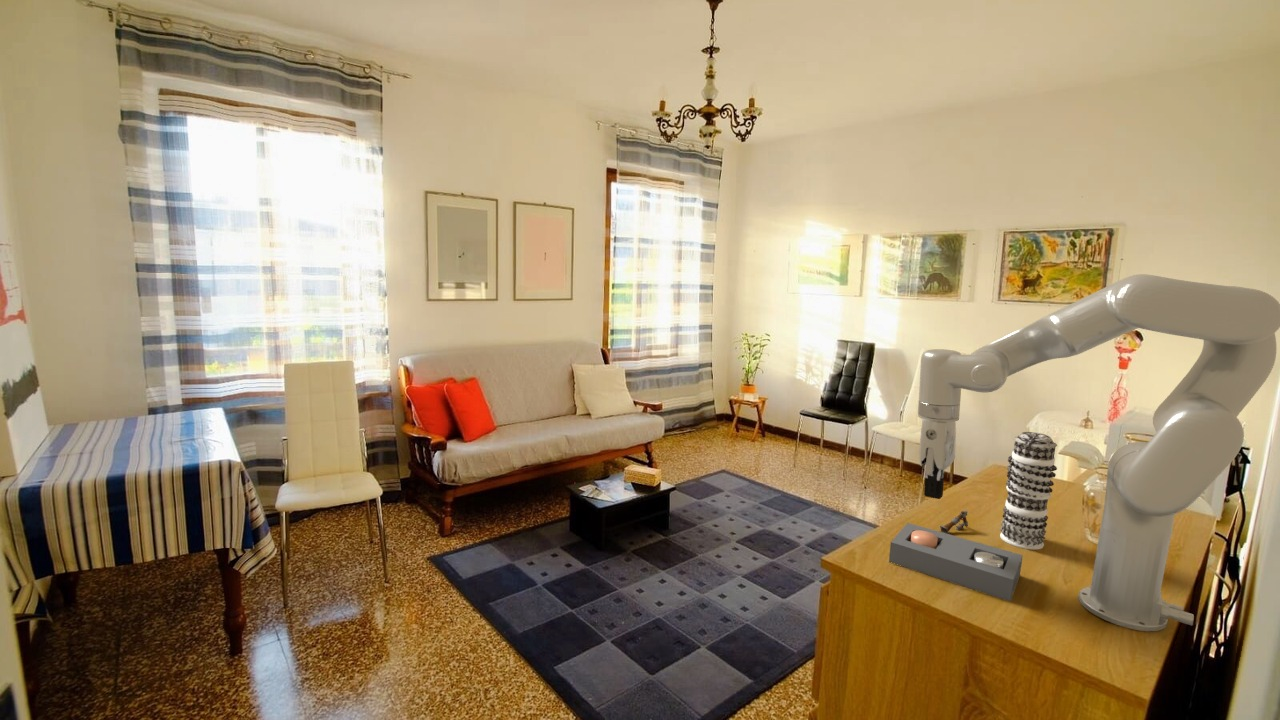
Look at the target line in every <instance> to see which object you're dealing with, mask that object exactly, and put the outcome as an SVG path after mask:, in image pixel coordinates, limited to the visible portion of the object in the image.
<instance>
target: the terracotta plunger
mask: <svg viewBox="0 0 1280 720" xmlns="http://www.w3.org/2000/svg"><path fill="white" fill-rule="evenodd" d="M937 540H938V538H937V536H936V535H934V534H932V533H930V532H927V531H921V530H917V531H913V532H912V534H911V542H914V543H917V544H920V545H924V546H927V547H930V548H934V549H936V548H937Z"/></svg>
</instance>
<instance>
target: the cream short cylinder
mask: <svg viewBox="0 0 1280 720" xmlns="http://www.w3.org/2000/svg"><path fill="white" fill-rule="evenodd" d="M974 561H977V562H980V563H984V564H987V565H990V566H994V567H997V568H1000V569H1003V559H1002V558H1000V557H999V556H997V555H994V554H991V553H987V552H977V553H975V555H974Z"/></svg>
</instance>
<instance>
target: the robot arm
mask: <svg viewBox="0 0 1280 720" xmlns="http://www.w3.org/2000/svg"><path fill="white" fill-rule="evenodd" d="M1136 329H1142V330H1146V331H1151V332H1155V333H1161V334H1167V335H1173V336H1180V337H1185V338H1192V339H1196V340H1197V339H1198V340H1201V341H1203V345H1202V349H1201V352H1200V355H1199V356H1198V358H1197V360H1196V361H1195V362H1194V364H1193V365H1192V366H1191V368H1190V369H1189V371H1188V372H1187V374H1185V376H1184V377H1183V378H1182V379H1181V381H1180V382H1179V383H1178V384H1177V385H1176V386H1175V388H1174V389H1173V390H1172V391H1171V392H1170V394H1169V395H1168V396H1167V397H1166V398H1165V399H1164V400H1163V401H1162V402H1161V403H1160V404H1159V405H1158V406H1157V408H1156V409H1155V410H1154V413H1153V417H1152V425H1153V428H1154V430H1155V434H1154V435H1153V436H1152V437H1151V439H1150V440H1149V441H1148V442H1147V441H1146V442H1145V441H1137V442H1136V441H1134V442H1130V443H1129V442H1128V443H1127V444H1124V445H1122V446H1121V447H1119V448H1118V449H1116V451H1115V452H1114V453H1113V454H1112V456H1110V459H1109V463H1108V466H1107V472H1106V484H1105V486H1106V487H1105V496H1104V497H1105V498H1104V504H1103V511H1102V518H1101V523H1100V529H1099V534H1098V540H1097V546H1096V547H1097V548H1096V551H1095V552H1096V553H1095V559H1094V566H1093V571H1092V577H1091V584H1090V586H1086V587H1083V588H1082V589H1080V591H1078V601H1079V602H1080V604H1081V605H1082V606H1083V608H1084V609H1086V610H1087V611H1089V612H1090V613H1091V614H1093V615H1095V616H1096V617H1098V618H1100V619H1103V620H1104V621H1106V622H1110V623H1111V624H1114V625H1116V626H1120V627H1122V628H1126V629H1131V630H1136V631H1142V632H1159V631H1162V630H1164V629H1165V628H1166V627H1167V625H1168V619H1171V620H1174V621H1177V622H1179V623H1182V624H1185V625H1189V626H1193V625H1194V618H1195V616H1194V614H1193V613H1190V612H1188V611H1184V606H1182V605H1178V604H1175V603H1170V602H1166V599H1163V597H1162V596H1163V593H1162V591H1161V590H1162V586H1163V581H1164V574H1165V570H1166V564H1167V558H1168V554H1169V553H1168V552H1169V547H1170V543H1171V540H1172V534H1173V529H1174V524H1175V523H1174V522H1175V515H1177V514H1180V513H1181V512H1183V511H1184V510H1186V509H1188V508H1189V507H1190V506H1191V505H1192V504H1193V503H1194V502H1195V501H1196V500H1197V499H1199V497H1201V496H1202V494H1204V492H1205V491H1206V490H1207V489H1209V487H1210V485H1212V484H1213V483H1214V481H1216V480H1217V478H1219V476H1220V475H1221V474H1222V472H1224V470H1226V469H1227V467H1229V466H1230V464H1231V463H1232V462H1233V460H1234V459H1235V458H1236V457H1237V455H1238V454H1239V452H1240V450H1241V448H1242V446H1243V443H1244V438H1245V432H1244V431H1245V430H1244V428H1243V425H1242V422H1241V421H1240V419H1239V418H1238V416H1239V415H1240V413H1241V412H1242V411H1243V410H1245V407H1246V406H1247V405H1248V404H1250V401H1251V400H1252V399H1253V398H1254V396H1255V395H1256V394H1257V393H1258V391H1260V388H1261V387H1263V386H1264V383H1265V382H1266V381H1267V379H1268V378H1269V376H1270V375H1271V373H1272V370H1273V368H1274V366H1275V363H1276V358H1277V350H1278V349H1277V337H1276V333H1277V331H1278V330H1279V329H1280V302H1279V301H1278V299H1276V298H1275V297H1274V296H1272V295H1271V294H1269V293H1267V292H1265V291H1263V290H1259V289H1255V288H1248V287H1243V286H1236V285H1235V286H1234V285H1223V284H1222V285H1221V284H1220V285H1219V284H1213V283H1204V282H1197V281H1190V280H1189V281H1188V280H1183V279H1176V278H1170V277H1165V276H1159V275H1154V274H1146V273H1143V274H1140V273H1139V274H1134V275H1130V276H1126V277H1124V278H1121V279H1120V280H1118V281H1116V282H1114V283H1112V284H1109V285H1107V286H1106V287H1103V288H1101V289H1099V290H1098V291H1095V292H1093V293H1091V294H1089V295H1087V296H1085V297H1083V298H1080V299H1078V300H1076V301H1074V302H1072V303H1070V304H1067V305H1066V306H1064V307H1062V308H1060V309H1057V310H1056V311H1053V312H1051V313H1050V314H1048V315H1046V316H1043V317H1041V318H1039V319H1037V320H1035V321H1033V322H1032V323H1030V324H1028V325H1026V326H1023V327H1022V328H1019V329H1017V330H1015V331H1013V332H1011V333H1009V334H1007V335H1004V336H1001V337H1000V338H998V339H996V340H994V341H992V342H990V343H987V344H985V345H983V346H981V347H979V348H978V349H976V350H974V351H972V352H971V354H962V353H960V351H957V350H953V349H952V350H951V349H946V348H945V349H943V348H939V349H938V348H935V349H932V348H931V349H928V350H925V351H924V352H923V353H921V357H920V372H919V391H918V404H917V405H918V407H917V408H918V409H917V417H918V418H919V419H922V422H921V429H920V438H919V451H918V452H919V453H918V457H919V458H918V462H919V465H920V466H921V467H925V470H924V476H925V477H924V489H923V490H924V491H923V496H924V497H928V498H932V499H936V500H940V499H941V498H943V495H944V483H945V479H944V476H945V470H947V469H948V468H949V467H950V466H951V465H952V464H953V462H954V461H955V459H956V437H957V435H956V434H957V433H956V432H957V431H956V430H957V427H956V423H957V422H958V421H959V420H960V414H961V413H960V409H961V397H962V389H963V390H967V391H971V392H977V393H983V394H984V393H987V394H988V393H993V392H995V391H997V390H999V389H1001V388H1002V387H1003V386H1004V385H1005V383H1006V382H1007V380H1008V377H1010V376H1012V375H1014V374H1016V373H1019V372H1021V371H1024V370H1025V369H1028V368H1030V367H1032V366H1035V365H1037V364H1041V363H1043V362H1047V361H1052V360H1054V359H1065V358H1071V357H1074V356H1077V355H1080V354H1083V353H1085V352H1087V351H1089V350H1091V349H1094V348H1096V347H1098V346H1100V345H1102V344H1104V343H1107V342H1109V341H1111V340H1114V339H1116V338H1118V337H1120V336H1122V335H1126V334H1127V333H1130V332H1133V331H1135V330H1136Z"/></svg>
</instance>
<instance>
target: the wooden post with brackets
mask: <svg viewBox="0 0 1280 720" xmlns="http://www.w3.org/2000/svg"><path fill="white" fill-rule="evenodd" d="M968 514H969V512H968V510H962V511H960V513H959V514H958V515H957V516H955V517H954V518H953V519H951V520H950V522H948V523H947V524H945V525H942V524H941V525H939V528H940V532H942V533H946V534H949V535H950V532H949V531H950V530H951V529H952V528H953V526H955V531H961V530H962V529H963V530H964V527H969V521H968V520H967V516H968ZM961 520H962V521H963V522H962V523H960V522H961ZM957 524H958V525H957Z"/></svg>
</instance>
